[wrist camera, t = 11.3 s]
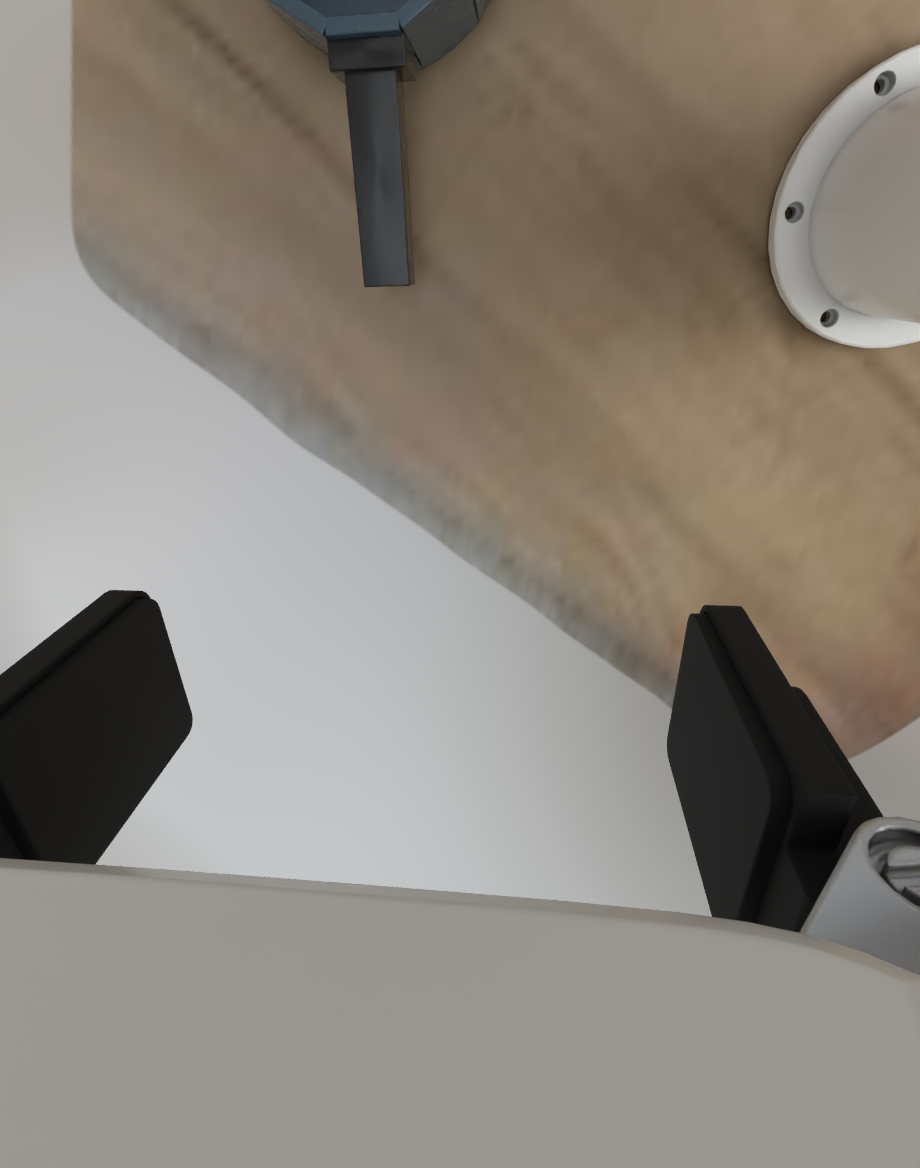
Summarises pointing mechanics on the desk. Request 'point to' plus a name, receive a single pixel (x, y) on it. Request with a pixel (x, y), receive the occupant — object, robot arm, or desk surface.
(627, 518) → the desk surface
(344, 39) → the saucepan
